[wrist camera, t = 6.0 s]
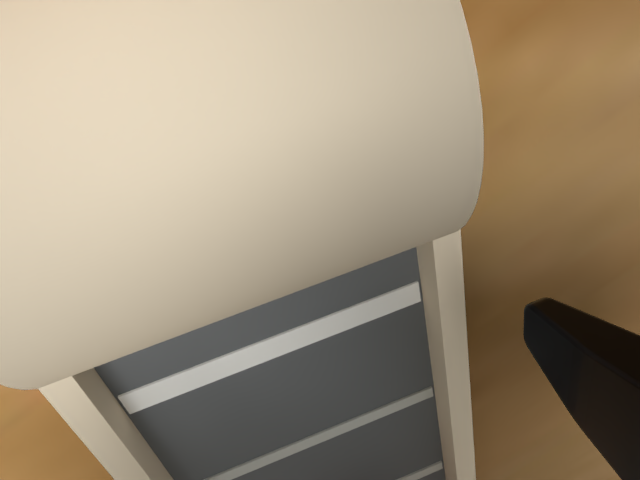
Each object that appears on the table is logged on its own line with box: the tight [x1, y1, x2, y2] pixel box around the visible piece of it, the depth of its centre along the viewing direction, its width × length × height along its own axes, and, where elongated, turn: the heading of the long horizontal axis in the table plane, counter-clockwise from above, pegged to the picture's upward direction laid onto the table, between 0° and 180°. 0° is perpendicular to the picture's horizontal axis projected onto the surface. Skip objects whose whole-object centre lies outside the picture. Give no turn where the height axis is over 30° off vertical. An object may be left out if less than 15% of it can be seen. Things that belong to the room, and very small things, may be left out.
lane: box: [0, 0, 484, 480], centre depth 17 cm, size 11×26×8 cm, turn 12°
